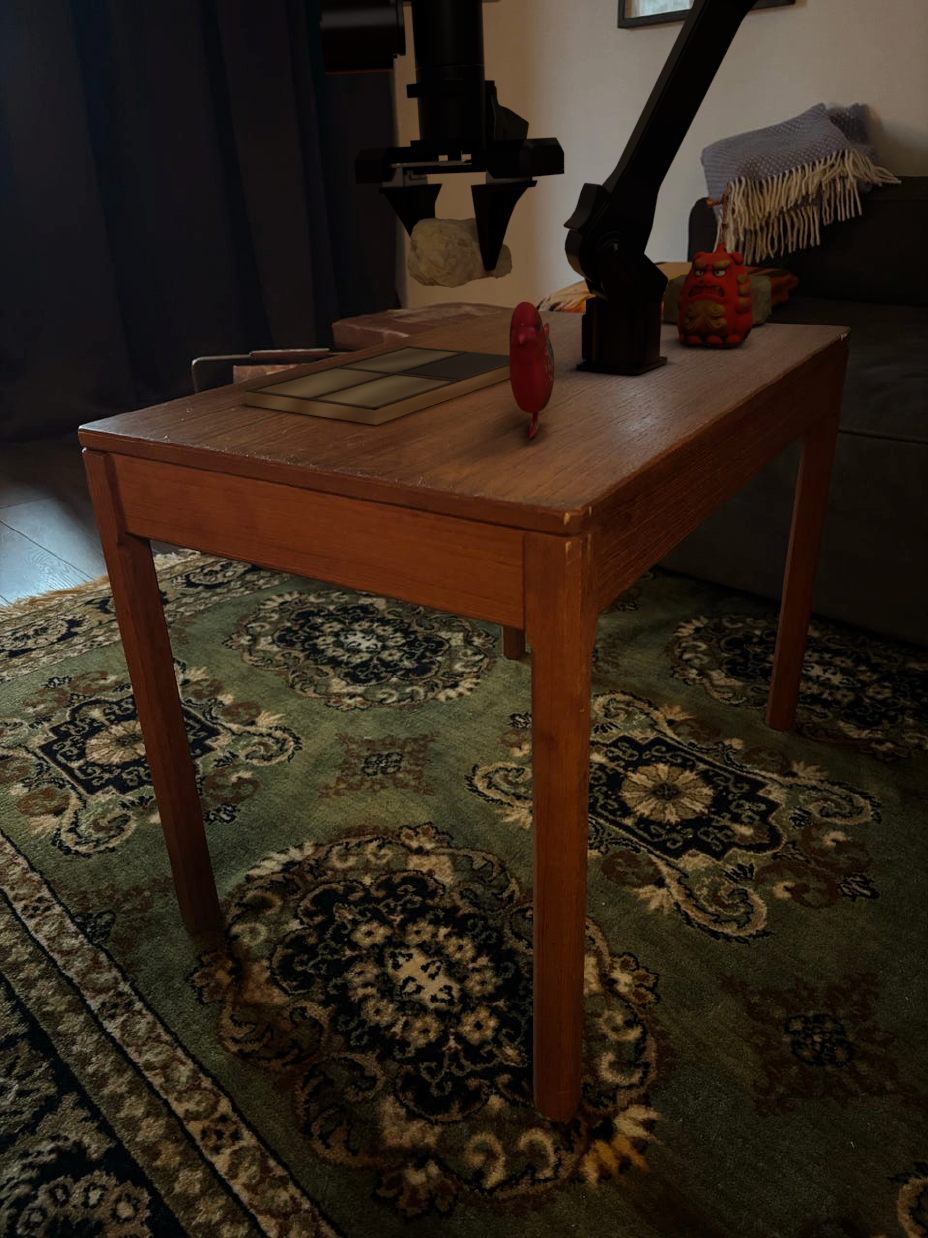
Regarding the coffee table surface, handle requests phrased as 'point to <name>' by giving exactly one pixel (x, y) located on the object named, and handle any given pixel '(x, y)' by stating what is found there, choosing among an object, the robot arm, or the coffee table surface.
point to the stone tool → (450, 253)
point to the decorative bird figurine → (530, 362)
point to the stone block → (759, 293)
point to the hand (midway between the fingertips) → (460, 269)
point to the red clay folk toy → (716, 295)
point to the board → (384, 384)
